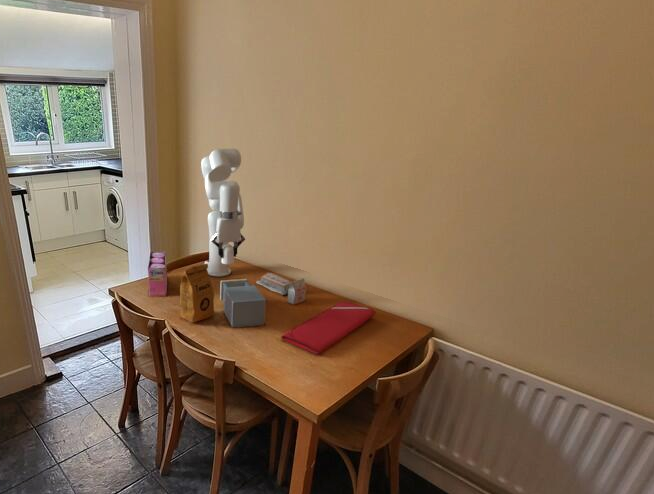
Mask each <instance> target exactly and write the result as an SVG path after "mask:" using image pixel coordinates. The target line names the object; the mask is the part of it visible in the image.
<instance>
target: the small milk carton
mask: <svg viewBox="0 0 654 494" xmlns="http://www.w3.org/2000/svg"><path fill="white" fill-rule="evenodd" d="M306 286H307V285H306V282H305V278H304V277H303V278H299V279H296V280H293V281H292V284H291V286H290V287H289V289H288V294H287V303H289V304H291V305H297V304H301V303H303V302H305V301H306V293H307V292H306V291H307V287H306Z"/></svg>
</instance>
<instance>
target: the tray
mask: <svg viewBox="0 0 654 494" xmlns="http://www.w3.org/2000/svg"><path fill="white" fill-rule="evenodd" d="M219 284H220V286H219V287H220V288H219V290H220V292H219V300H220V301H222V302H223V303H224V288H225V287H239V286H250V284H249V283H248V279H247V278H241V279H240V278H238V279H227V280H226V279H225V280H220V283H219Z"/></svg>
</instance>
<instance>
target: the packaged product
mask: <svg viewBox="0 0 654 494" xmlns="http://www.w3.org/2000/svg"><path fill="white" fill-rule="evenodd" d="M255 284H257V285H259V286H262V287H264V288H266V289H267V290H269V291H271V292H275V293H277V294H280V295H282V296H286V295H288V289H289V287H290V286H291V284H292V281H291V280H289V279H287V278H285V277H283V276H280V275H277V274H276V273H272V272H266V273H265V274H264V275H262V276H260V279H259V280H257V281H255Z"/></svg>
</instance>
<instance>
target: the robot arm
mask: <svg viewBox="0 0 654 494" xmlns="http://www.w3.org/2000/svg"><path fill="white" fill-rule="evenodd" d="M200 163H201V165H200V168H201V173H202V177H203V179H204V188H205V194H206V197H207V198H208V205H209V207H210V209H211V210H212V211H210V212H209V213H208V215H207V225H208V236H209V243H208V244H209V245H208V246H209V249H208V253H209V255H208V256H209V257H208V259H209V260H208V261H207V260H205V261H204V263H203V264H206V263H207V264H208V268H207V271H208V274H209V276H211V277H216V278H217V277H218V278H221V277H227V276H229V275H230V274H231V273H232V270H231V268H229V264H223V263H222V257H223V249H222V248H223V246H225V245H227V244H228V245H230V244H229V243H233V245H232V247H233V248H234V258H237V255H238V249H239V247H240V245H242V243H244V242H245V241H246V237H245V236H244V235H243V234H242V233H241V229H243V228H244V225H245V216H244V215H245V214H244V208H243V200H242V195H241V194H240V191H241V189H240V185H239V183H238V182H237V181H234V180H232V181H231V180H228V179H229V178H230V176H231V175H232V174H233V173H235V172H236V171H238V169H239V168H240V166H241V163H242V155H241V152H240V150H238V149H237V148H216V149H214V150H213V151H211V153H210V155H207V156H205V157H203V158H202V159H201V162H200ZM226 180H227V181H226Z"/></svg>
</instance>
